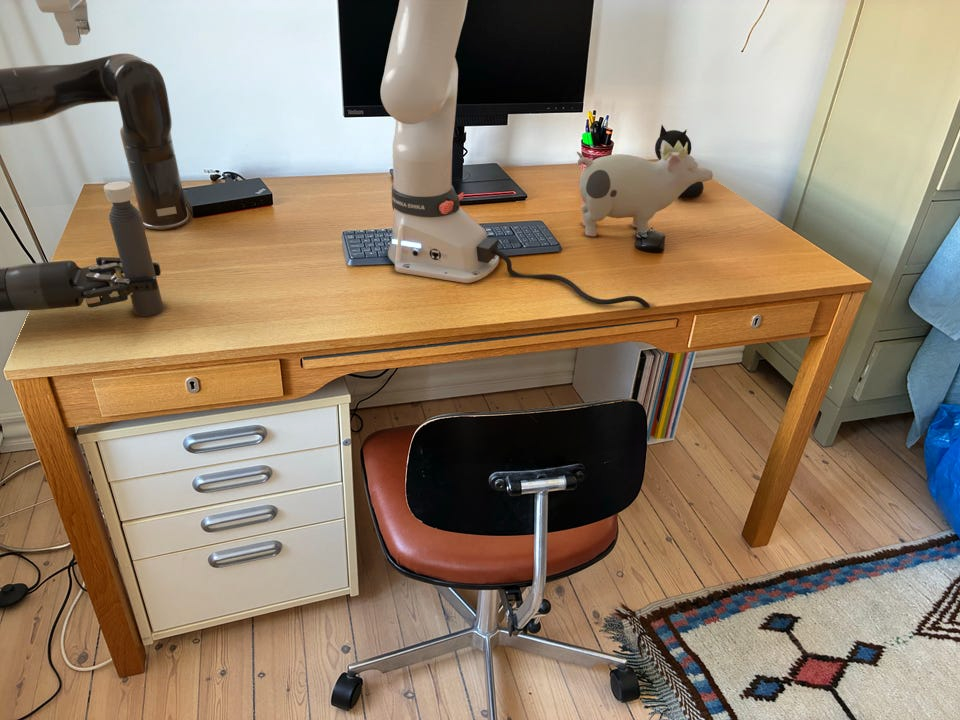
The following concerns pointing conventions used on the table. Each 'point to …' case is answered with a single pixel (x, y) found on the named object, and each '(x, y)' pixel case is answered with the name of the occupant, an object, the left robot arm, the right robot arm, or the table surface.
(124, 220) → the bottle
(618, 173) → the figurine
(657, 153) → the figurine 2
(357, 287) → the table surface
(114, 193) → the cap
